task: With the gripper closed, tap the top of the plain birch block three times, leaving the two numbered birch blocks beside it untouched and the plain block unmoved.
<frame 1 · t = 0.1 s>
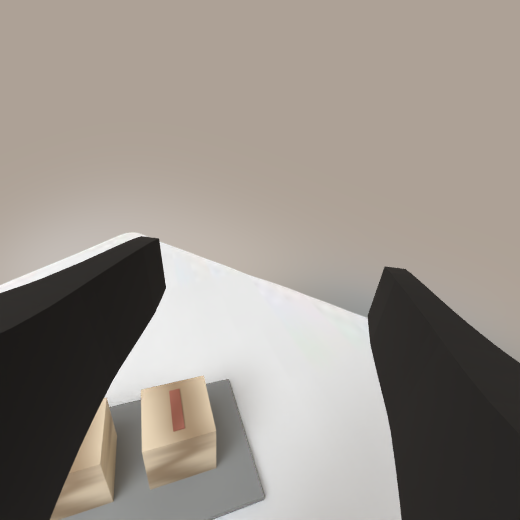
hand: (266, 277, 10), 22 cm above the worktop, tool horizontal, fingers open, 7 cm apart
slate mat: (80, 479, 23), on the worktop
block one: (180, 446, 25), resting on slate mat
plain block: (79, 476, 23), resting on slate mat
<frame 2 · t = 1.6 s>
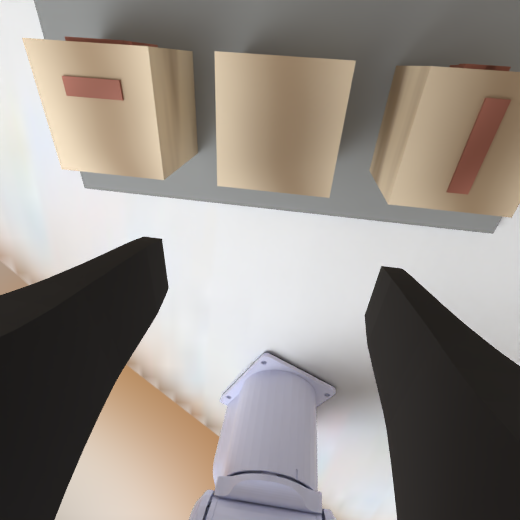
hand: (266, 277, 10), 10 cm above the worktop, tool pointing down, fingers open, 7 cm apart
slate mat: (286, 113, 17), on the worktop
block one: (431, 126, 16), resting on slate mat
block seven: (151, 102, 17), resting on slate mat
plain block: (286, 114, 16), resting on slate mat
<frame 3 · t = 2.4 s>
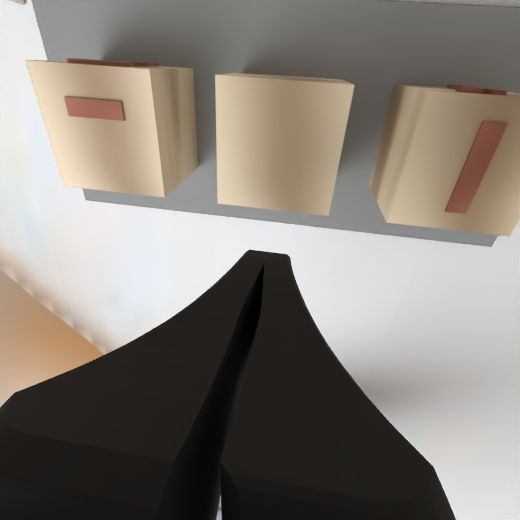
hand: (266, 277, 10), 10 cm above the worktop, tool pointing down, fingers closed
slate mat: (286, 128, 17), on the worktop
block one: (429, 142, 16), resting on slate mat
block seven: (152, 118, 17), resting on slate mat
plain block: (285, 130, 16), resting on slate mat
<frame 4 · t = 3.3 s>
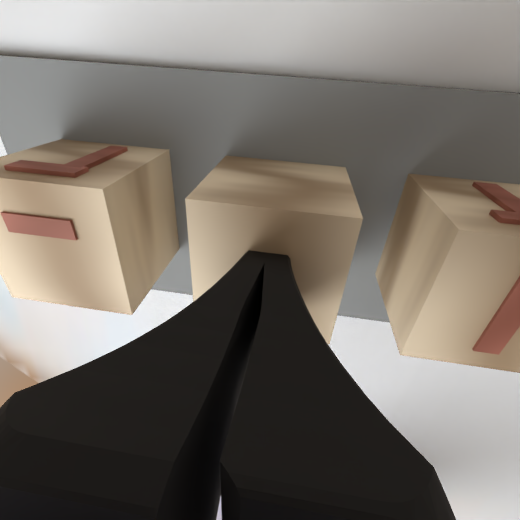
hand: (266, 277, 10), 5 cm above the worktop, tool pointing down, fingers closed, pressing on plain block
slate mat: (280, 211, 14), on the worktop
block one: (448, 235, 13), resting on slate mat
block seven: (124, 198, 15), resting on slate mat
plain block: (279, 216, 14), resting on slate mat, touching gripper
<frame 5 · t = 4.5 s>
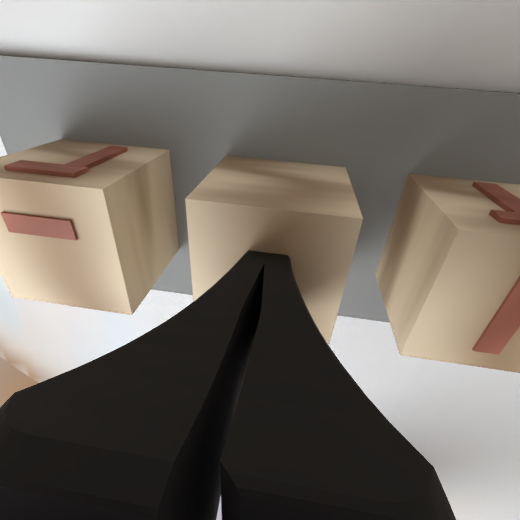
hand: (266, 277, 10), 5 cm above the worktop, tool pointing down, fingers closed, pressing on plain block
slate mat: (280, 211, 14), on the worktop
block one: (448, 235, 13), resting on slate mat
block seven: (124, 198, 15), resting on slate mat
plain block: (279, 216, 14), resting on slate mat, touching gripper
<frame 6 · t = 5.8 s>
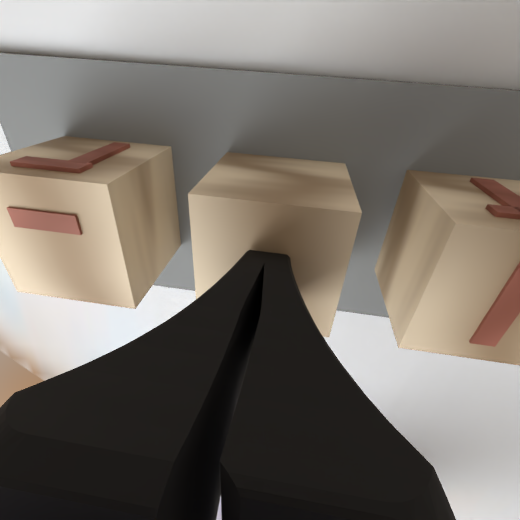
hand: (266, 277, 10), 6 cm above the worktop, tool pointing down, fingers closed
slate mat: (280, 207, 15), on the worktop
block one: (446, 231, 14), resting on slate mat
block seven: (127, 194, 15), resting on slate mat
plain block: (279, 212, 14), resting on slate mat
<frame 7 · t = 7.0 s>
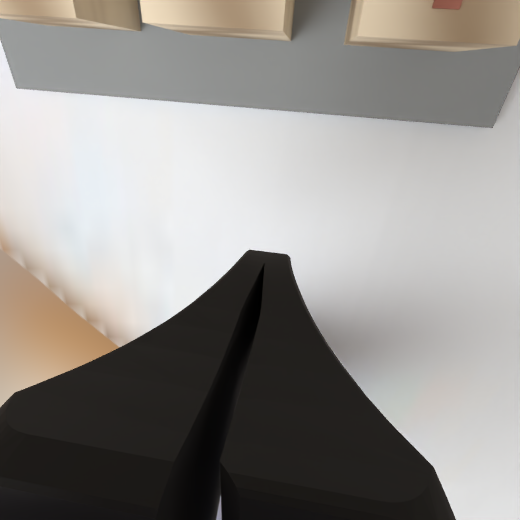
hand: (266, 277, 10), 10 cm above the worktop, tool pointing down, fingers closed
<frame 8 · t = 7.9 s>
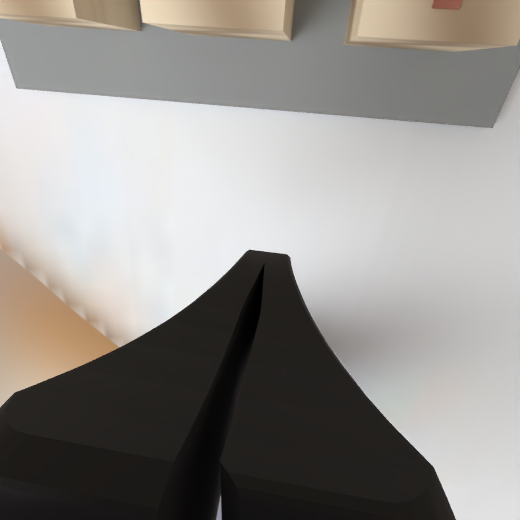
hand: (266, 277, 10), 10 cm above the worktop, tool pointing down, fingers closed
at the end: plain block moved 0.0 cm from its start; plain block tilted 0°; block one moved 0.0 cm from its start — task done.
